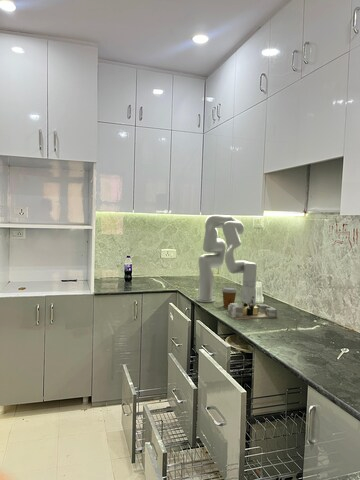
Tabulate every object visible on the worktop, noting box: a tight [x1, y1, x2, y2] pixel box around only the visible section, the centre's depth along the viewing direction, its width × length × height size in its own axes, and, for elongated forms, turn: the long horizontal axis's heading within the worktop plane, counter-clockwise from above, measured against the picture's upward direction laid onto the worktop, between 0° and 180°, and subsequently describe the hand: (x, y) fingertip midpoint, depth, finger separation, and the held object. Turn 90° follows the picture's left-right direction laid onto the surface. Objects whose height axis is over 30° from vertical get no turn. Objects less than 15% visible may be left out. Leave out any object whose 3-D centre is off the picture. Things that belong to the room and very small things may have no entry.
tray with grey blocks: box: [225, 302, 278, 321], centre depth 216 cm, size 14×26×7 cm, turn 109°
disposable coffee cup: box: [221, 286, 238, 309], centre depth 234 cm, size 10×10×12 cm
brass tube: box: [241, 305, 258, 315], centre depth 215 cm, size 4×15×4 cm, turn 109°
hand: (247, 313), depth 215 cm, fingers open, 5 cm apart
